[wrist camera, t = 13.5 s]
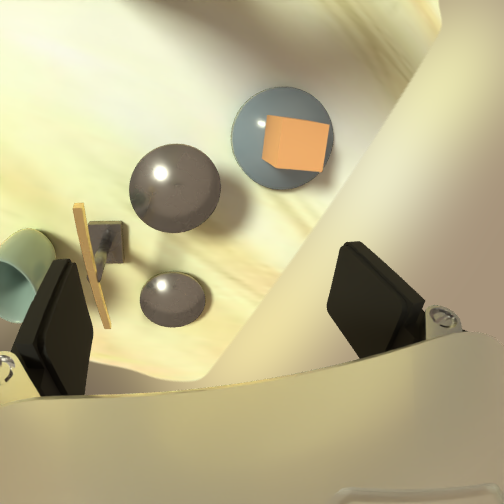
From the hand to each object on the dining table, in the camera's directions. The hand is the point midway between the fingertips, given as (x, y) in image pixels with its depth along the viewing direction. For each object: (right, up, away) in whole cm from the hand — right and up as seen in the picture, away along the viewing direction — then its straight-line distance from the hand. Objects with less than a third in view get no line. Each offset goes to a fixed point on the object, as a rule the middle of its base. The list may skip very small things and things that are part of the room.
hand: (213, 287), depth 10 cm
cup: (-26, +2, +22) cm, 34 cm away
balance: (-11, +3, +25) cm, 28 cm away
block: (+5, +14, +23) cm, 27 cm away
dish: (+5, +14, +24) cm, 28 cm away
